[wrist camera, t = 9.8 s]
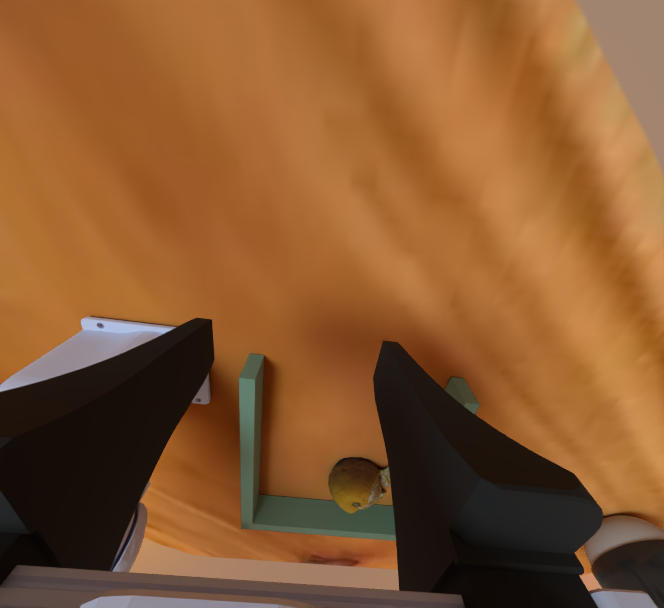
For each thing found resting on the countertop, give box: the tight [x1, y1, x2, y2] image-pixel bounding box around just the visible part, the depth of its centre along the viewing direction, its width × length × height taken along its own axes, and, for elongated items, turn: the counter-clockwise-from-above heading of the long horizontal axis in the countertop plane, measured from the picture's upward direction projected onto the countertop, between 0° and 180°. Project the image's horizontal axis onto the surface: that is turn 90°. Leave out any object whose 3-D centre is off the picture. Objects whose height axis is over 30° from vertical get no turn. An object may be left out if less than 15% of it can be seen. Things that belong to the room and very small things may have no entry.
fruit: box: [328, 457, 391, 514], centre depth 29 cm, size 8×8×4 cm
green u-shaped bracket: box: [239, 354, 480, 541], centre depth 27 cm, size 19×22×3 cm
